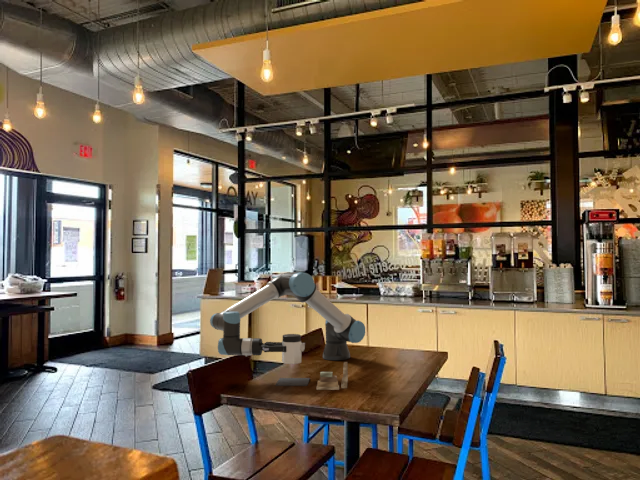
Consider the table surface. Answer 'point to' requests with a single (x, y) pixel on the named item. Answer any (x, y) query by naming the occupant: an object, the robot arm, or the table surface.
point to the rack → (344, 380)
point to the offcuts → (327, 380)
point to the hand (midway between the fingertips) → (304, 347)
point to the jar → (291, 349)
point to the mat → (293, 382)
